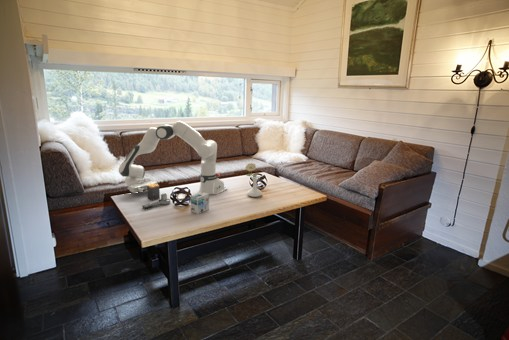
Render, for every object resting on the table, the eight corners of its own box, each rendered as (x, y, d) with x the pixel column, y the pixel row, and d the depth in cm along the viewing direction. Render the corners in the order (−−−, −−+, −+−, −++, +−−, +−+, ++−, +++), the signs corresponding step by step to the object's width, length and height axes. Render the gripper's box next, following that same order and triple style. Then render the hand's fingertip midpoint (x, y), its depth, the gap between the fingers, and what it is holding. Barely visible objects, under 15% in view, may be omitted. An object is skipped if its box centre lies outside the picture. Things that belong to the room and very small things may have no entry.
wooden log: (155, 196, 219) (154, 183, 217) (159, 198, 216) (159, 185, 213) (147, 198, 215) (146, 185, 212) (152, 200, 211) (151, 186, 209)
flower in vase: (262, 193, 232) (263, 161, 226) (261, 198, 221) (262, 165, 215) (245, 192, 233) (246, 160, 227) (243, 197, 222) (244, 164, 216)
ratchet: (166, 200, 213) (165, 190, 211) (172, 203, 208) (172, 193, 206) (140, 207, 199) (140, 197, 197) (147, 210, 194) (146, 200, 192)
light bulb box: (198, 214, 191) (197, 198, 188) (190, 211, 195) (189, 195, 192) (209, 209, 200) (209, 193, 197) (201, 206, 203) (201, 191, 200)
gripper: (125, 183, 218) (135, 188, 209) (151, 177, 233) (161, 181, 224) (126, 192, 219) (136, 196, 211) (151, 185, 234) (162, 189, 226)
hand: (149, 188), depth 217 cm, fingers open, 8 cm apart
